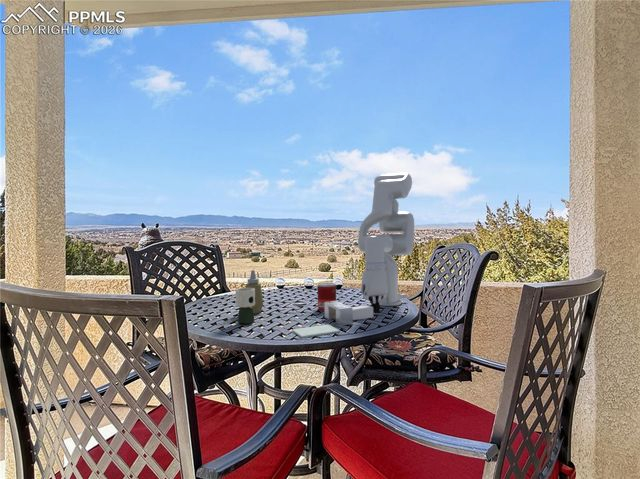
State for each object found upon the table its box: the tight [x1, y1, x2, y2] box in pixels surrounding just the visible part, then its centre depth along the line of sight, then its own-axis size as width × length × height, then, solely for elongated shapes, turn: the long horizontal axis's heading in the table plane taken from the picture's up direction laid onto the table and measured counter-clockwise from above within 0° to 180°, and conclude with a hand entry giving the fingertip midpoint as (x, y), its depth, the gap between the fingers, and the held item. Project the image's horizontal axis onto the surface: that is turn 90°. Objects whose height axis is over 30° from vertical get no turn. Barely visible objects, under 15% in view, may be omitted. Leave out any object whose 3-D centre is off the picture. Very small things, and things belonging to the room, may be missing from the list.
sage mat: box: [291, 324, 341, 339], centre depth 133 cm, size 14×9×1 cm, turn 114°
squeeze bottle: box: [244, 269, 264, 315], centre depth 164 cm, size 8×8×18 cm
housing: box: [324, 300, 354, 326], centre depth 147 cm, size 5×14×6 cm, turn 24°
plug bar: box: [351, 305, 374, 321], centre depth 151 cm, size 12×4×4 cm, turn 113°
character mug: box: [235, 287, 255, 325], centre depth 146 cm, size 11×7×13 cm, turn 171°
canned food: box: [317, 282, 337, 312], centre depth 167 cm, size 8×8×11 cm
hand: (375, 312), depth 154 cm, fingers closed
